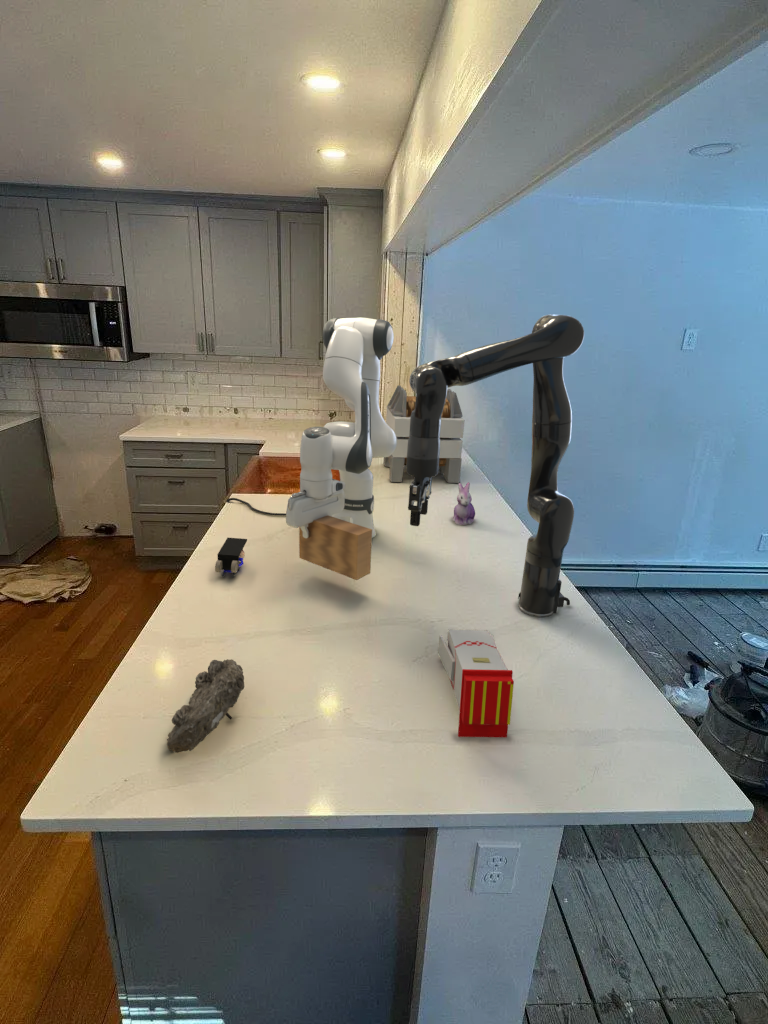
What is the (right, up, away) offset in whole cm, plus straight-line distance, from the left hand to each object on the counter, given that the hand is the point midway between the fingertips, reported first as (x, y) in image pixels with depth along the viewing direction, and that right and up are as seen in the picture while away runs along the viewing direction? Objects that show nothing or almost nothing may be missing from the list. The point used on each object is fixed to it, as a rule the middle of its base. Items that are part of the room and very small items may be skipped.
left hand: (315, 533), depth 161 cm
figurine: (+49, +2, +54) cm, 73 cm away
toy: (+37, -32, -42) cm, 64 cm away
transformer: (+37, +25, +114) cm, 123 cm away
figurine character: (-26, -11, +7) cm, 29 cm away
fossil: (-13, -33, -53) cm, 64 cm away
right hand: (+28, +4, -24) cm, 37 cm away
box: (+5, -9, -2) cm, 10 cm away
